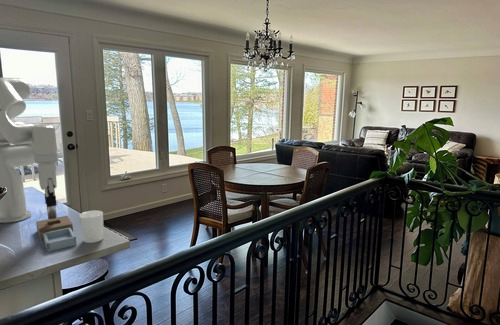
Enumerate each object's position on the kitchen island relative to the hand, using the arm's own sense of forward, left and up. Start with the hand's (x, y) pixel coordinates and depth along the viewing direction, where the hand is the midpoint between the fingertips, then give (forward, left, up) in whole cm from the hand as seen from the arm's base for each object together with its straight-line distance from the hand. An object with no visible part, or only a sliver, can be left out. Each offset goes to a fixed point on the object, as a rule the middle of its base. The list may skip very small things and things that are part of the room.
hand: (51, 204), depth 130 cm
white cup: (+17, +11, -12) cm, 23 cm away
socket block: (+1, 0, -11) cm, 11 cm away
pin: (0, 0, -6) cm, 6 cm away
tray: (+13, 0, -11) cm, 17 cm away
